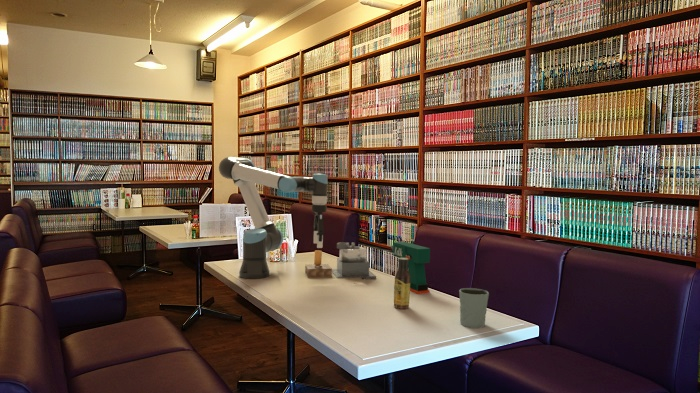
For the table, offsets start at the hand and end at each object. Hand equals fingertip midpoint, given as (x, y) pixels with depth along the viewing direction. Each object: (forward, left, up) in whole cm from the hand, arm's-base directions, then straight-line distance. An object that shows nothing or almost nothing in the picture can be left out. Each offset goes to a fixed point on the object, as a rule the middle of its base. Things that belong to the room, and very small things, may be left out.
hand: (317, 245), depth 246 cm
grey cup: (+44, -85, -16) cm, 97 cm away
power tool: (+38, -25, -16) cm, 49 cm away
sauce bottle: (+25, -61, -16) cm, 68 cm away
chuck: (+18, 0, -7) cm, 19 cm away
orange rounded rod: (0, 0, -15) cm, 15 cm away
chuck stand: (+18, 0, -16) cm, 24 cm away
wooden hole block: (0, 0, -16) cm, 16 cm away
